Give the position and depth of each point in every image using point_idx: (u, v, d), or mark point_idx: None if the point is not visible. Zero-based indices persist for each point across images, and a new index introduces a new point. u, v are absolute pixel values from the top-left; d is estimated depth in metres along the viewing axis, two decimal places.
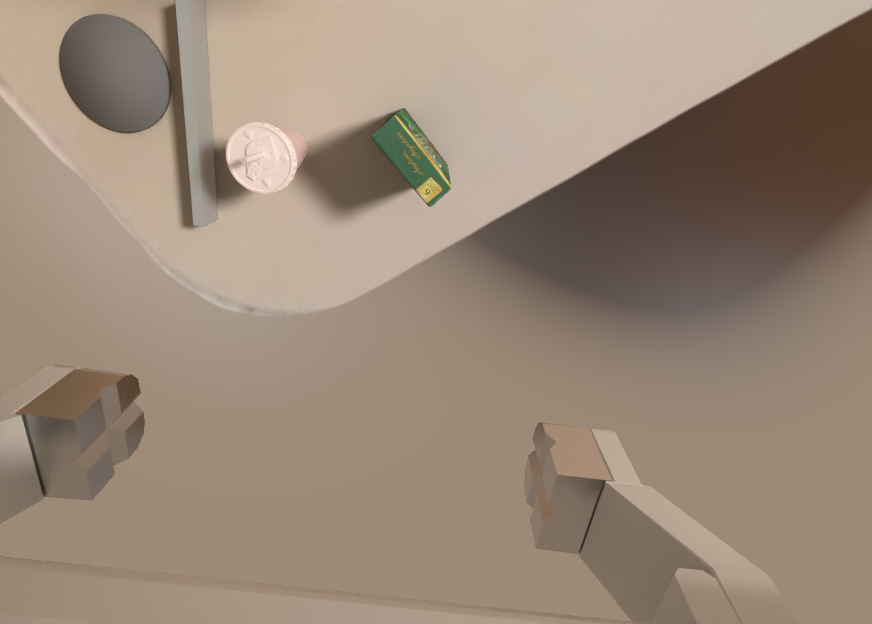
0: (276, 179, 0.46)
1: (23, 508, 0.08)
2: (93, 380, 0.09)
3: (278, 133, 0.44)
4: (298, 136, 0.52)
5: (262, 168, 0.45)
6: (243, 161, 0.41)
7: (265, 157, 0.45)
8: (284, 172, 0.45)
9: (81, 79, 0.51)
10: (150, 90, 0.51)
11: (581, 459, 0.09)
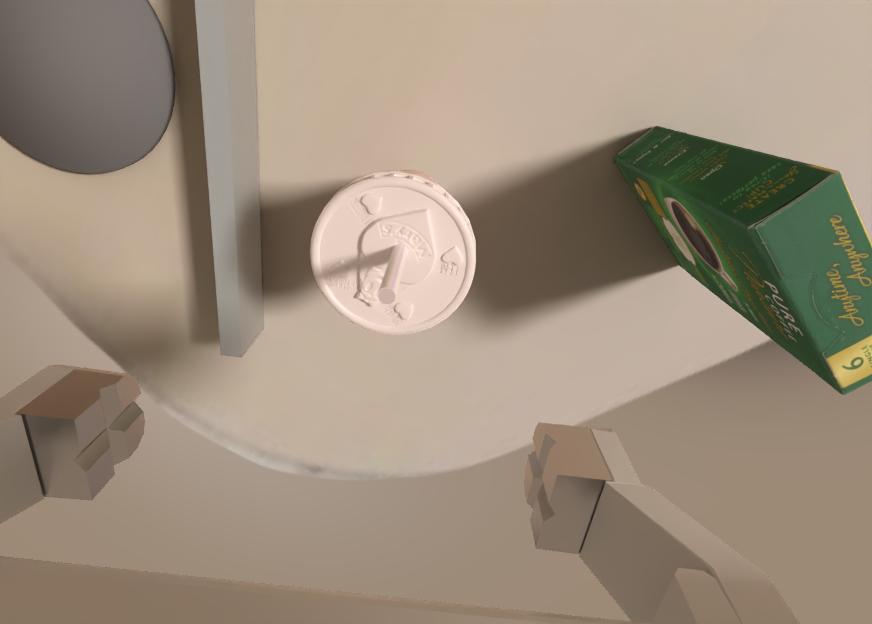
0: (427, 304, 0.19)
1: (23, 508, 0.08)
2: (93, 380, 0.09)
3: (446, 202, 0.18)
4: (437, 184, 0.25)
5: None
6: (384, 298, 0.14)
7: (408, 258, 0.18)
8: (448, 289, 0.19)
9: None
10: (132, 89, 0.25)
11: (581, 459, 0.09)
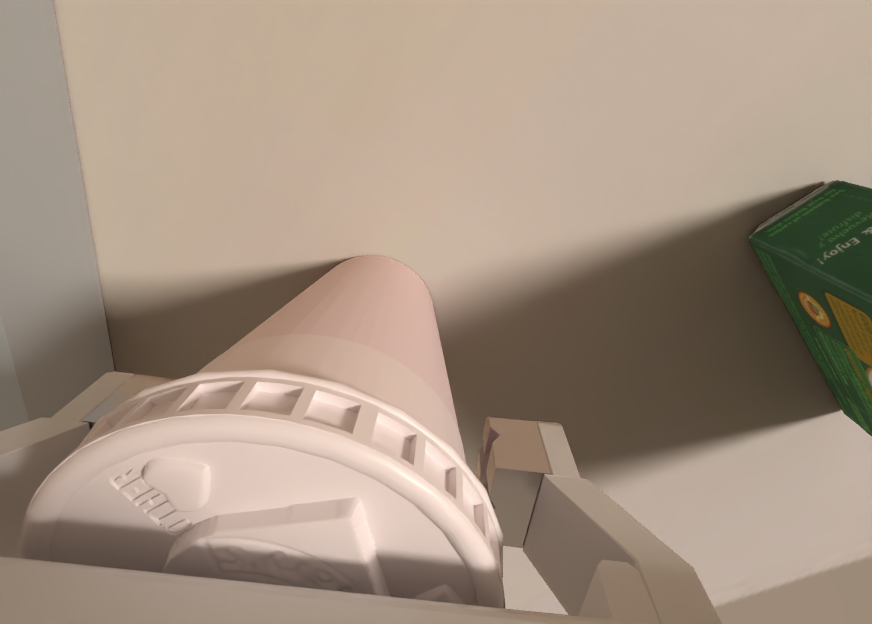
0: None
1: None
2: None
3: (414, 485, 0.05)
4: (418, 290, 0.13)
5: None
6: None
7: None
8: None
9: None
10: None
11: (522, 453, 0.09)
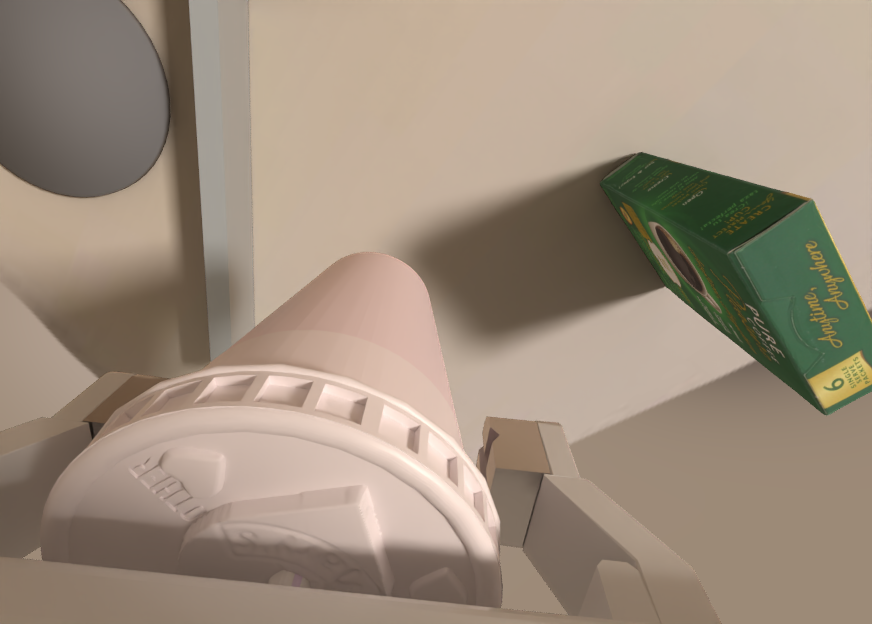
0: None
1: None
2: None
3: (418, 472, 0.06)
4: (416, 286, 0.13)
5: None
6: None
7: None
8: None
9: None
10: (128, 115, 0.25)
11: (522, 452, 0.09)
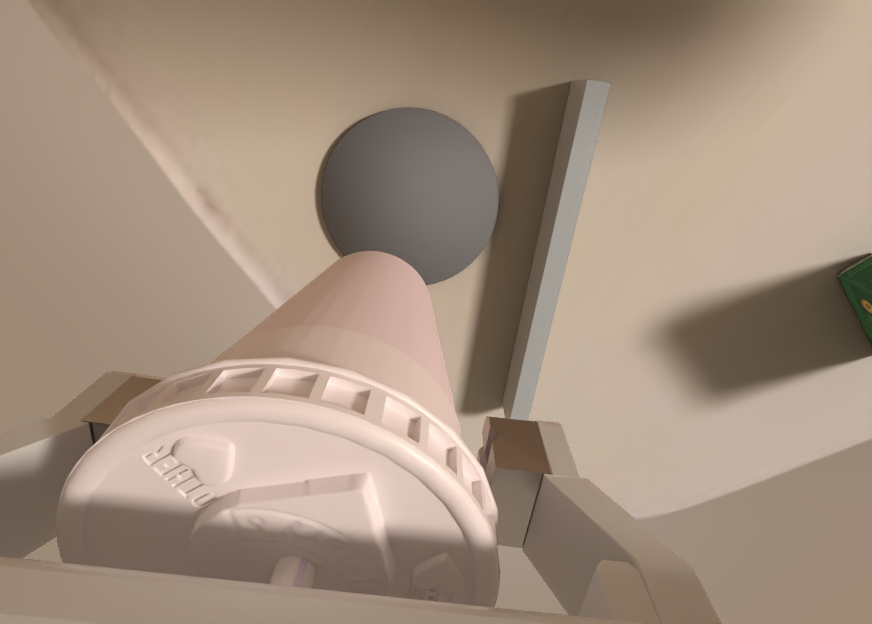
0: None
1: None
2: None
3: (419, 461, 0.06)
4: (416, 284, 0.14)
5: None
6: None
7: (319, 585, 0.07)
8: None
9: (352, 208, 0.31)
10: (464, 225, 0.31)
11: (522, 452, 0.09)
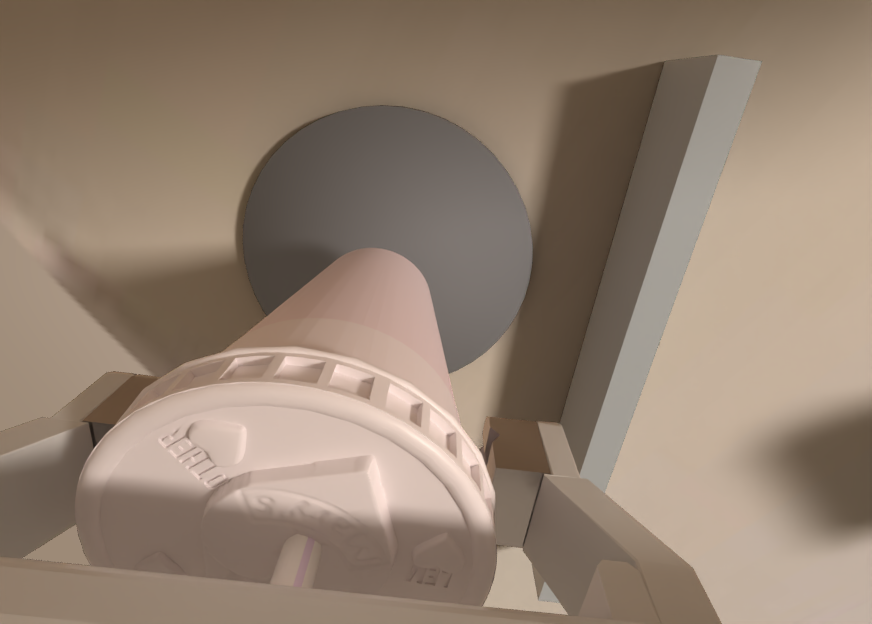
0: None
1: None
2: None
3: (421, 444, 0.06)
4: (417, 281, 0.14)
5: None
6: None
7: (325, 563, 0.07)
8: None
9: (295, 269, 0.19)
10: (475, 296, 0.19)
11: (523, 453, 0.09)
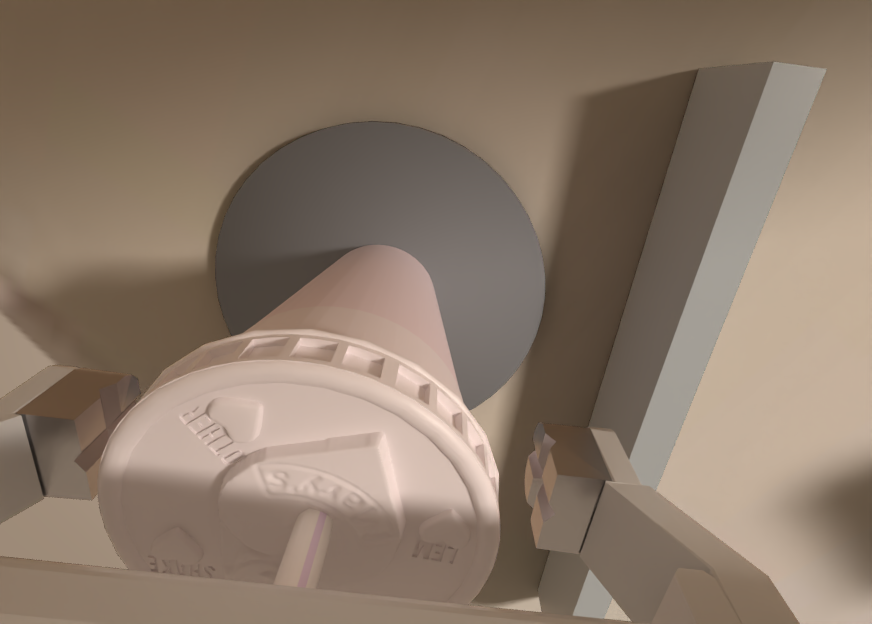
0: None
1: (23, 508, 0.08)
2: (93, 380, 0.09)
3: (429, 422, 0.07)
4: (422, 276, 0.14)
5: None
6: None
7: (336, 537, 0.07)
8: (435, 588, 0.08)
9: (275, 306, 0.17)
10: (480, 335, 0.17)
11: (581, 459, 0.09)
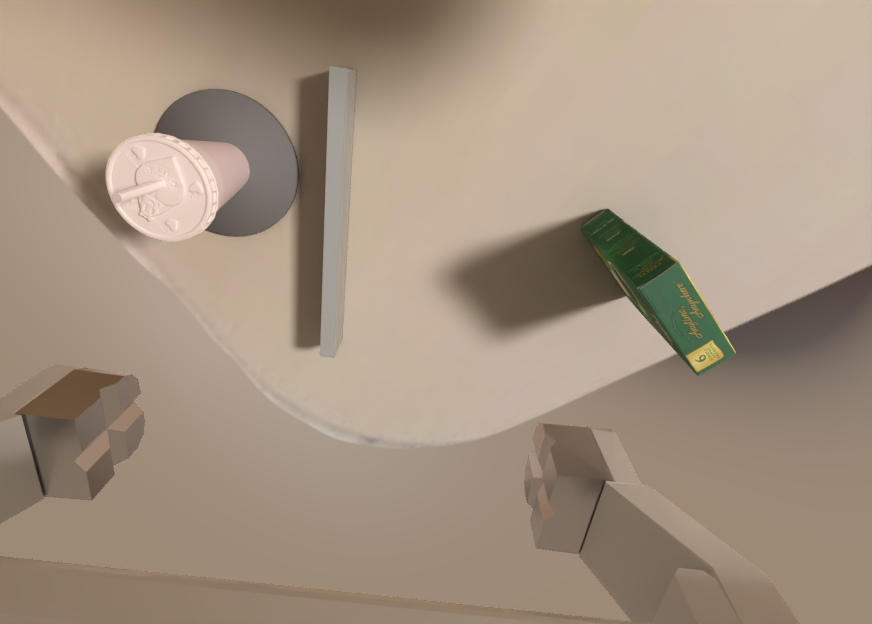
0: (186, 220, 0.30)
1: (23, 508, 0.08)
2: (93, 380, 0.09)
3: (184, 152, 0.28)
4: (234, 151, 0.36)
5: (163, 204, 0.29)
6: (115, 199, 0.25)
7: (166, 188, 0.29)
8: (198, 210, 0.30)
9: None
10: (272, 185, 0.38)
11: (581, 459, 0.09)
